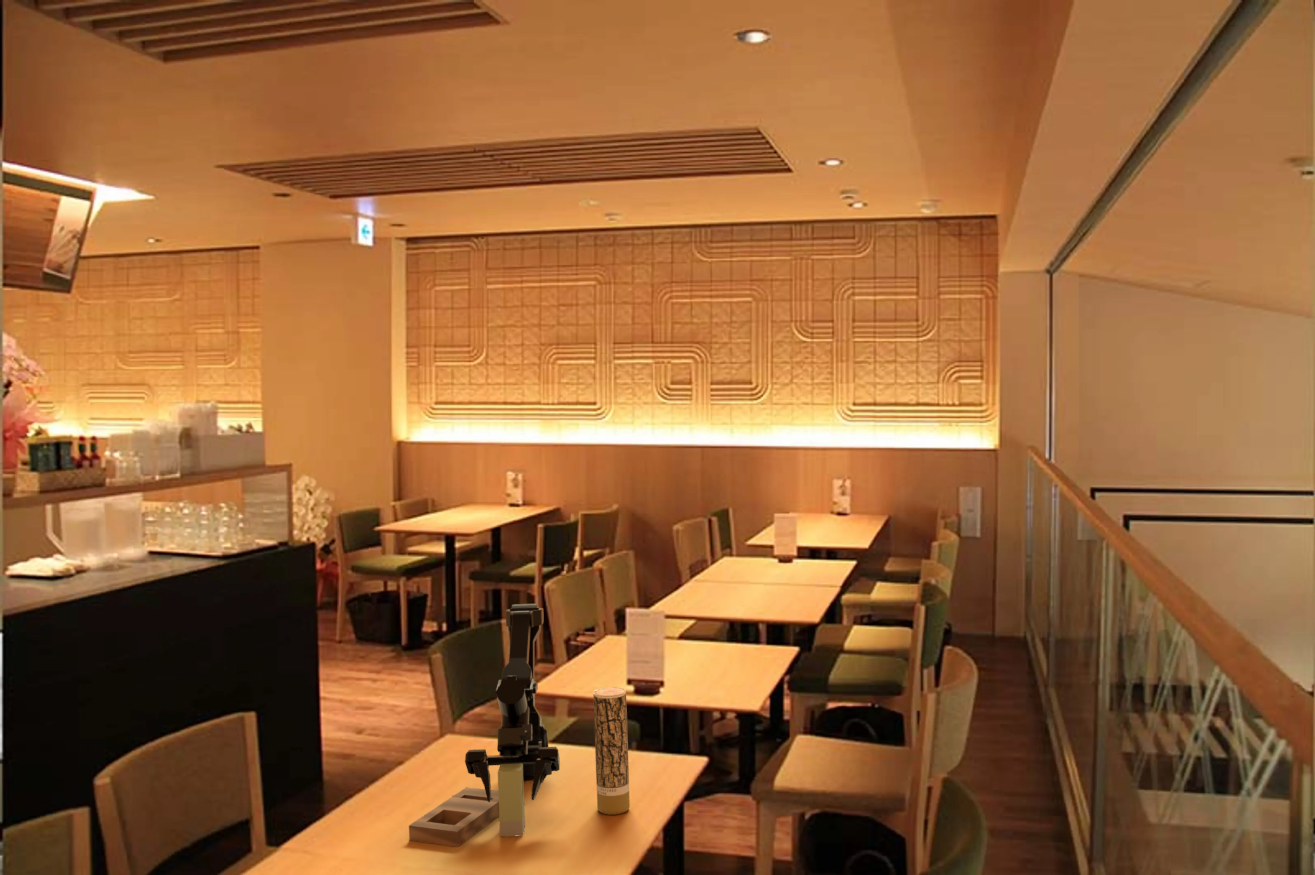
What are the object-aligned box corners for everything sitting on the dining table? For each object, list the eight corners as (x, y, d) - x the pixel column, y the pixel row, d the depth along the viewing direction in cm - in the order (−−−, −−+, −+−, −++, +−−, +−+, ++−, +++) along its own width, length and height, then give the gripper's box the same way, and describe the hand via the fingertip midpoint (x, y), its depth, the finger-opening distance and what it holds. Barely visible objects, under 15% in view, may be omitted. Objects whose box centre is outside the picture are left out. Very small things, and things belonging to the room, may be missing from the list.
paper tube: (625, 816, 229) (621, 696, 228) (593, 815, 230) (589, 695, 229) (633, 804, 235) (629, 687, 234) (601, 803, 237) (598, 686, 236)
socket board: (466, 801, 240) (466, 787, 240) (512, 806, 237) (511, 792, 236) (409, 840, 220) (408, 825, 220) (457, 847, 216) (457, 831, 216)
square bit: (502, 827, 225) (500, 764, 224) (525, 827, 225) (522, 763, 224) (500, 836, 220) (497, 772, 220) (522, 835, 221) (520, 771, 220)
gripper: (464, 711, 225) (457, 784, 215) (556, 707, 226) (554, 780, 215) (471, 737, 234) (465, 809, 223) (560, 734, 234) (558, 805, 223)
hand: (510, 800), depth 221 cm, fingers open, 8 cm apart
